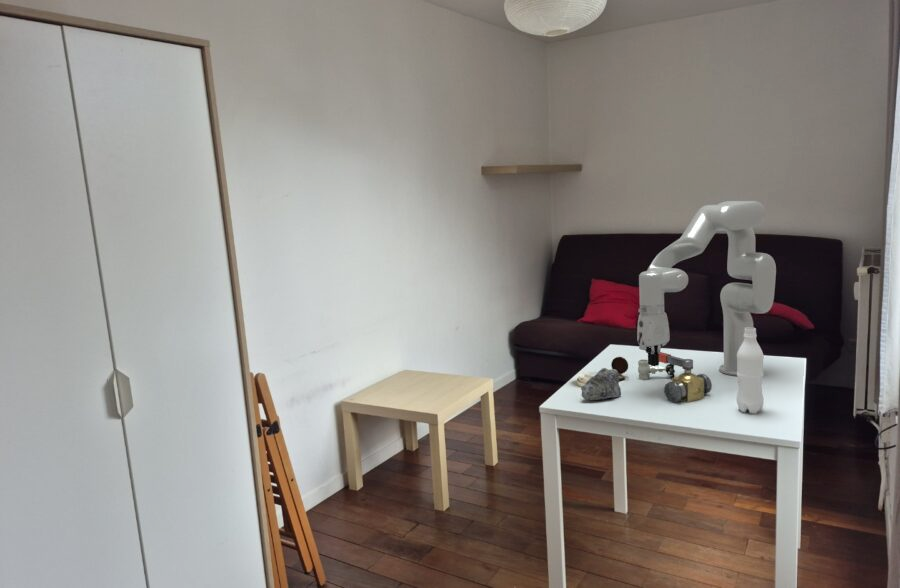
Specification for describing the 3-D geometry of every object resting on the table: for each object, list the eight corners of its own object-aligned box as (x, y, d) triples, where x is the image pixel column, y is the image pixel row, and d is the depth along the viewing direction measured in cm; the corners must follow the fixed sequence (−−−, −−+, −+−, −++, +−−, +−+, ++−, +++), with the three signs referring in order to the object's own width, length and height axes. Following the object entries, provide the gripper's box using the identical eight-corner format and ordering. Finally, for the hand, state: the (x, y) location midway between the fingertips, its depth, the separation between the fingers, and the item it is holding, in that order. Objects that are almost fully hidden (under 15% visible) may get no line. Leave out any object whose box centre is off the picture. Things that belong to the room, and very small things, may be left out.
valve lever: (695, 368, 207) (695, 360, 207) (687, 370, 206) (687, 362, 206) (661, 359, 220) (661, 351, 220) (654, 360, 219) (653, 353, 218)
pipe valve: (694, 390, 216) (693, 362, 215) (713, 396, 209) (713, 367, 208) (662, 398, 210) (661, 370, 209) (681, 405, 203) (681, 376, 202)
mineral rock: (581, 403, 212) (580, 373, 210) (580, 392, 222) (579, 364, 220) (622, 402, 209) (621, 372, 208) (619, 392, 220) (618, 363, 218)
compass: (604, 380, 233) (603, 360, 232) (613, 374, 240) (612, 355, 238) (626, 383, 229) (625, 363, 227) (634, 377, 235) (633, 357, 234)
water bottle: (736, 405, 199) (736, 325, 195) (762, 407, 197) (763, 325, 193) (737, 414, 193) (736, 331, 189) (764, 415, 190) (764, 331, 186)
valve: (639, 381, 230) (675, 380, 228) (638, 363, 229) (674, 362, 226) (637, 376, 236) (671, 375, 234) (636, 358, 235) (671, 357, 233)
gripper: (642, 314, 204) (644, 372, 207) (678, 307, 210) (679, 363, 213) (626, 311, 211) (627, 366, 214) (660, 304, 217) (662, 358, 220)
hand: (653, 364), depth 214 cm, fingers closed
